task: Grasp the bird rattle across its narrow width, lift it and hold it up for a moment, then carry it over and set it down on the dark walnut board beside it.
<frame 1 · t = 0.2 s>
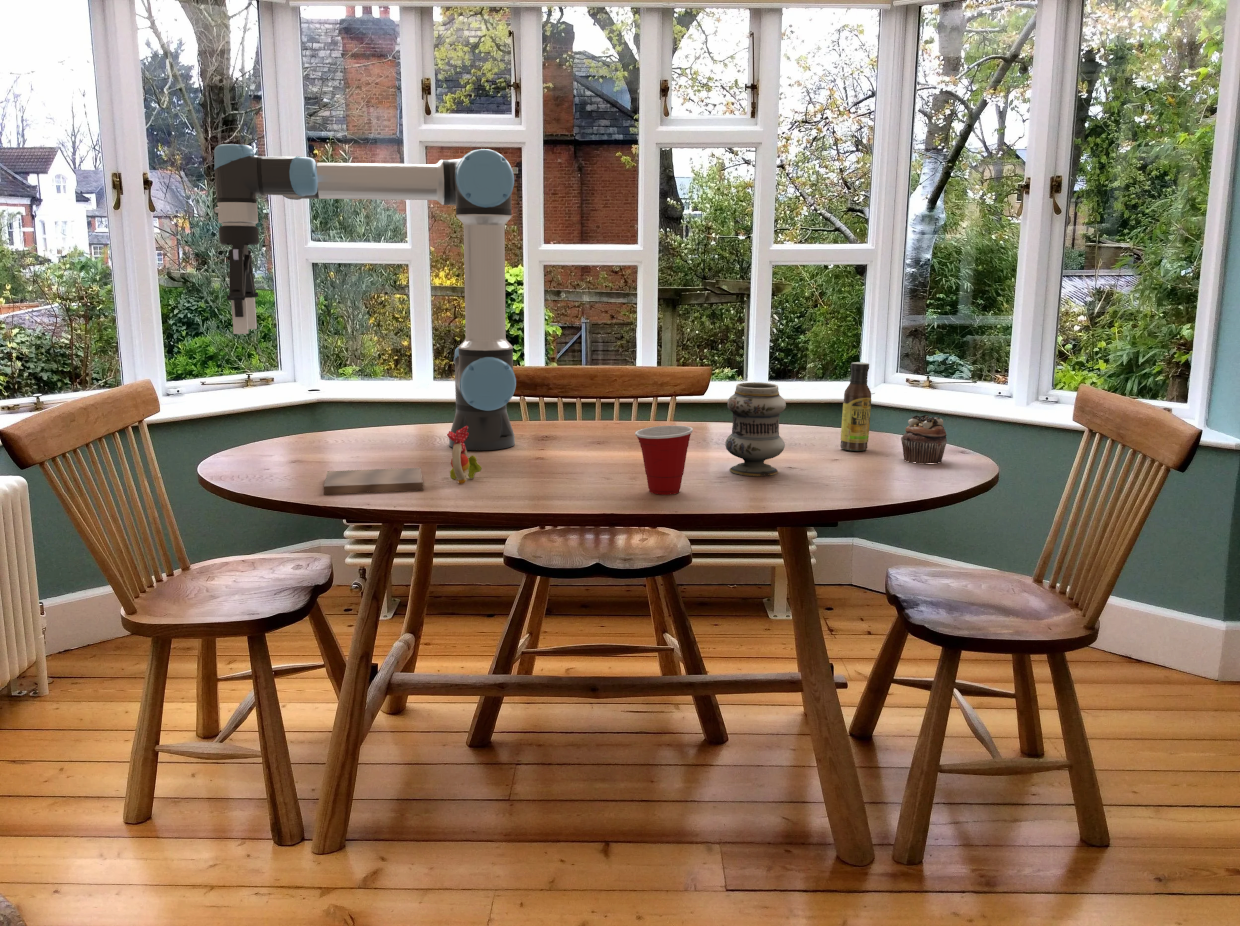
hand: (245, 331, 213), 28 cm above the table, tool pointing down, fingers open, 13 cm apart
sauce bottle: (854, 450, 238), on the table
cupcake: (922, 461, 226), on the table
walnut board: (374, 484, 200), on the table
apothecary jar: (754, 472, 214), on the table
bird rattle: (463, 481, 204), on the table
plastic cup: (663, 492, 195), on the table
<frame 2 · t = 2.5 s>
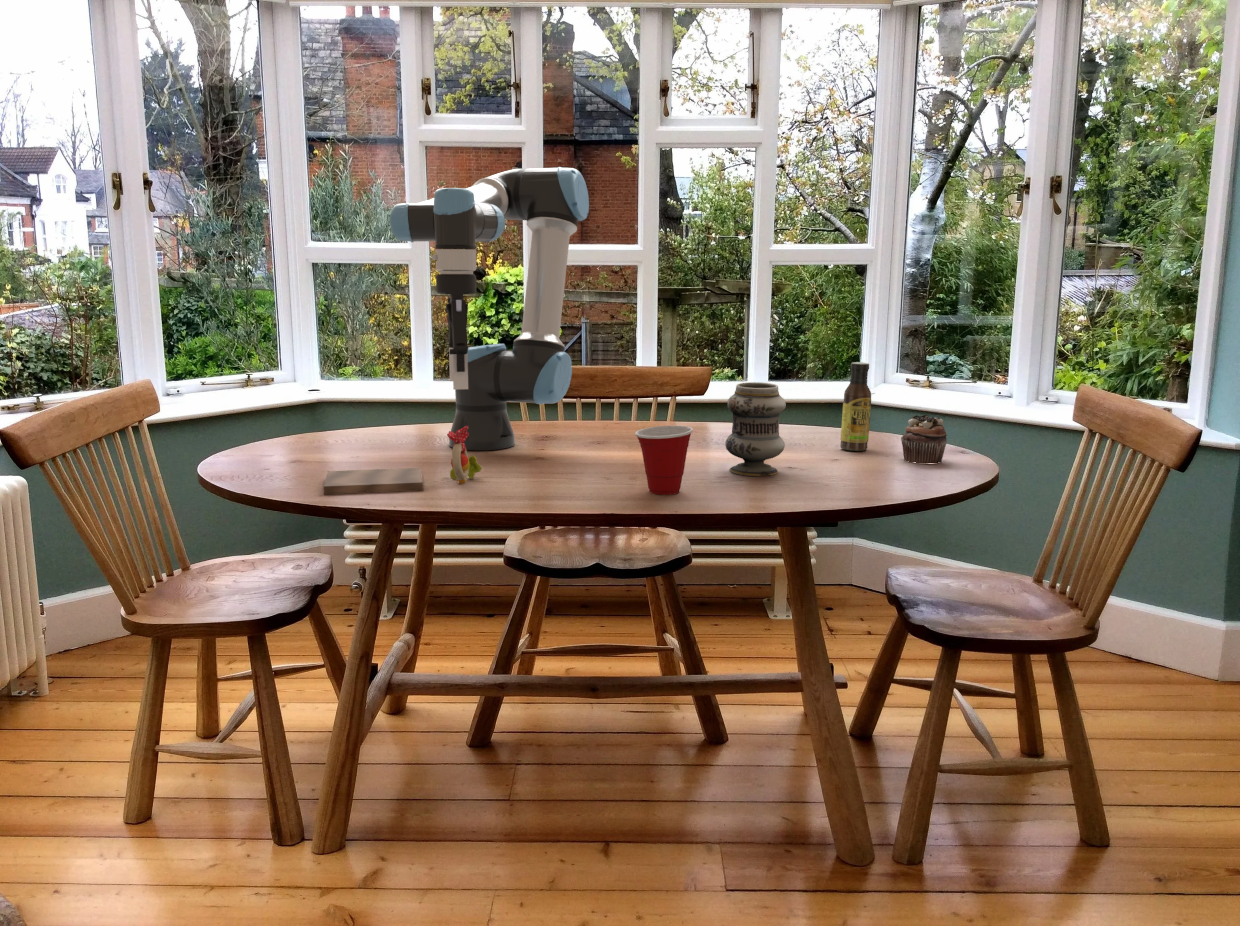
hand: (458, 385, 200), 19 cm above the table, tool pointing down, fingers open, 13 cm apart
nothing on the table moved.
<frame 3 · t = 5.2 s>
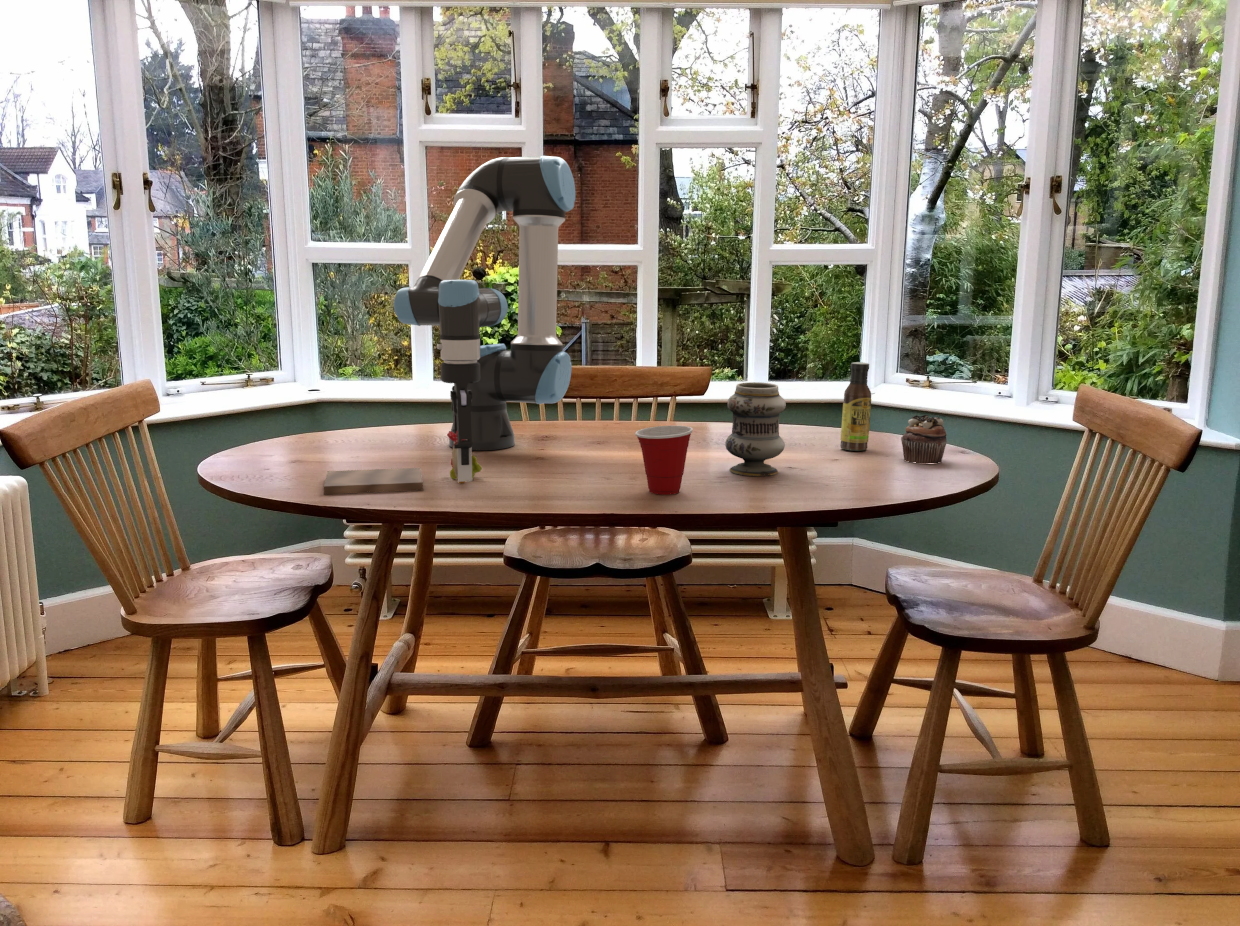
hand: (463, 475, 204), 1 cm above the table, tool pointing down, fingers closed on bird rattle, 9 cm apart
bird rattle: (463, 481, 204), on the table, touching gripper
everything else where it was.
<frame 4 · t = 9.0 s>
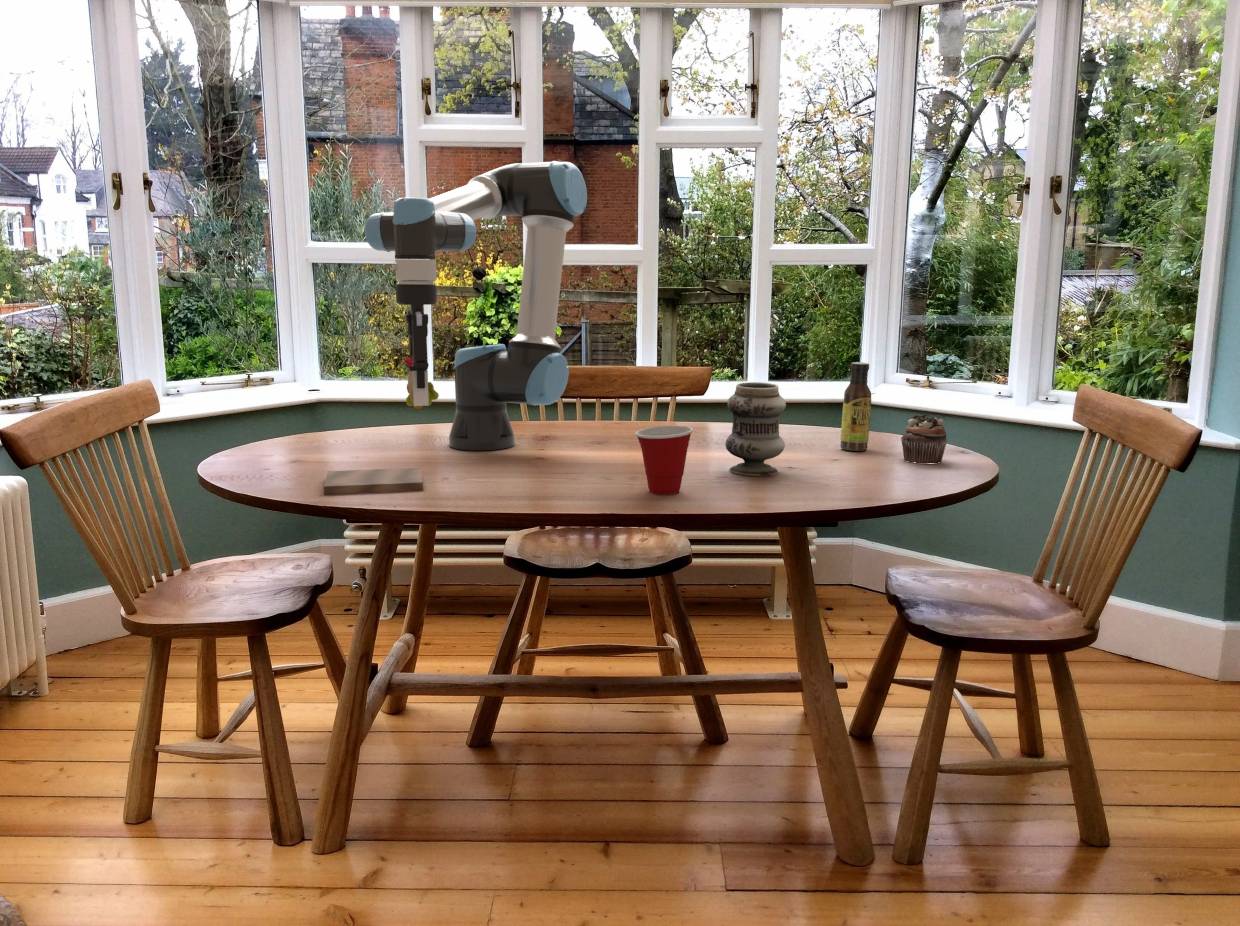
hand: (419, 401, 199), 16 cm above the table, tool pointing down, fingers closed on bird rattle, 9 cm apart
bird rattle: (419, 408, 199), point 15 cm above the table, touching gripper
everything else where it was.
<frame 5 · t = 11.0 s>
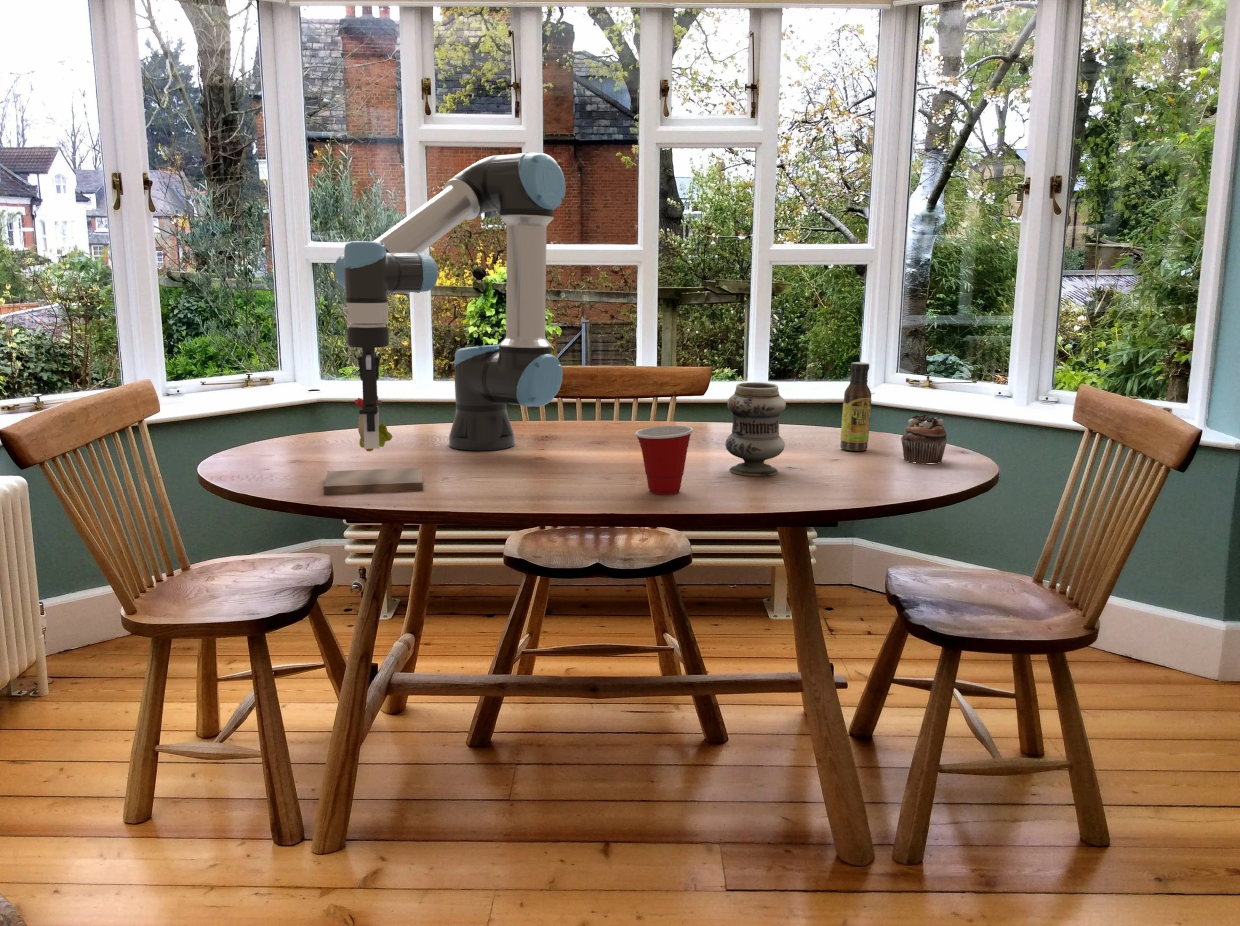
hand: (372, 443, 199), 8 cm above the table, tool pointing down, fingers closed on bird rattle, 9 cm apart
bird rattle: (372, 450, 199), point 7 cm above the table, touching gripper
everything else where it was.
when the fingers open (4 cm above the table, at t = 12.8 s): bird rattle stays where it is, resting on walnut board.
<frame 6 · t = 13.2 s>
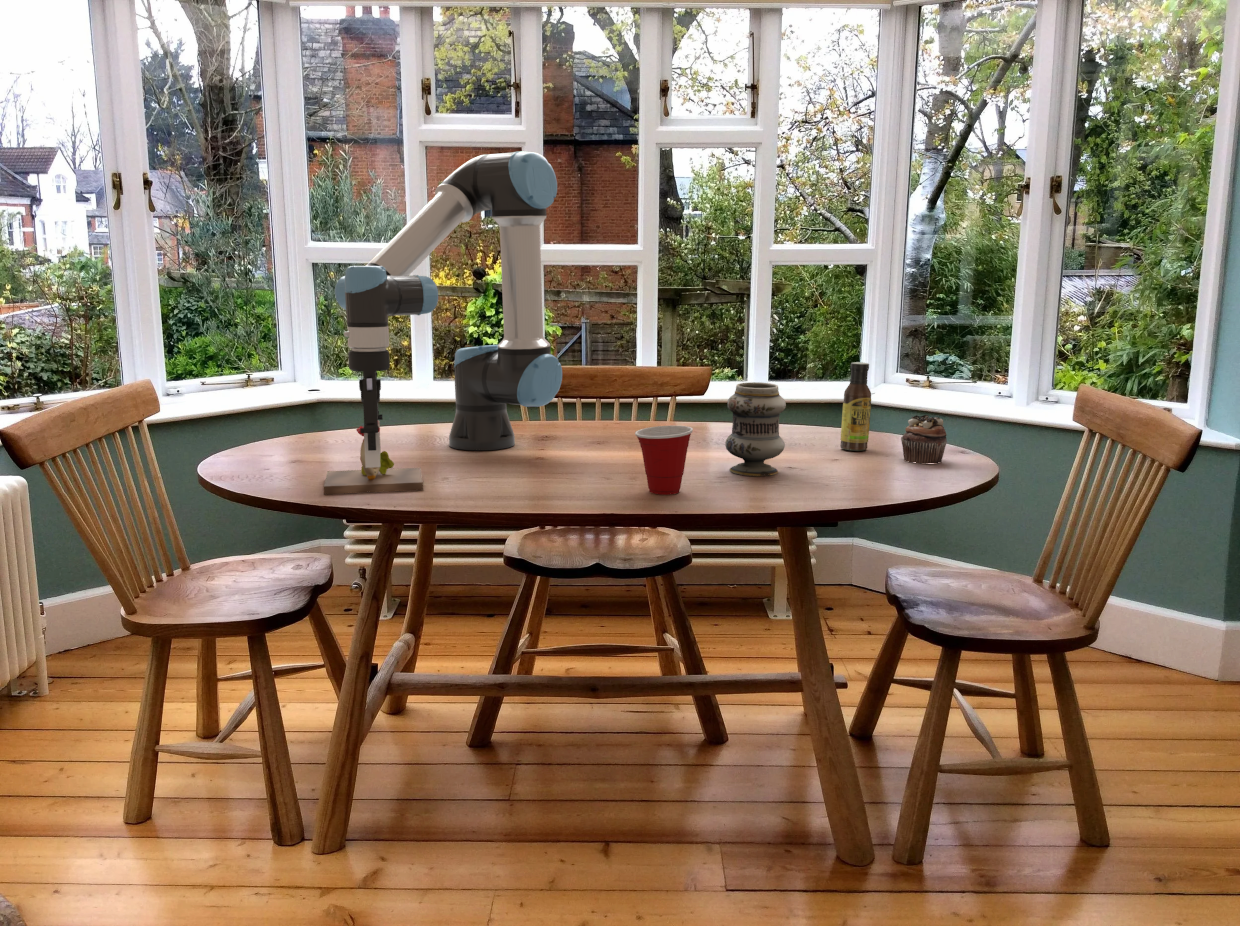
hand: (373, 460, 199), 5 cm above the table, tool pointing down, fingers open, 13 cm apart
bird rattle: (374, 477, 200), point 1 cm above the table, touching walnut board
everything else where it was.
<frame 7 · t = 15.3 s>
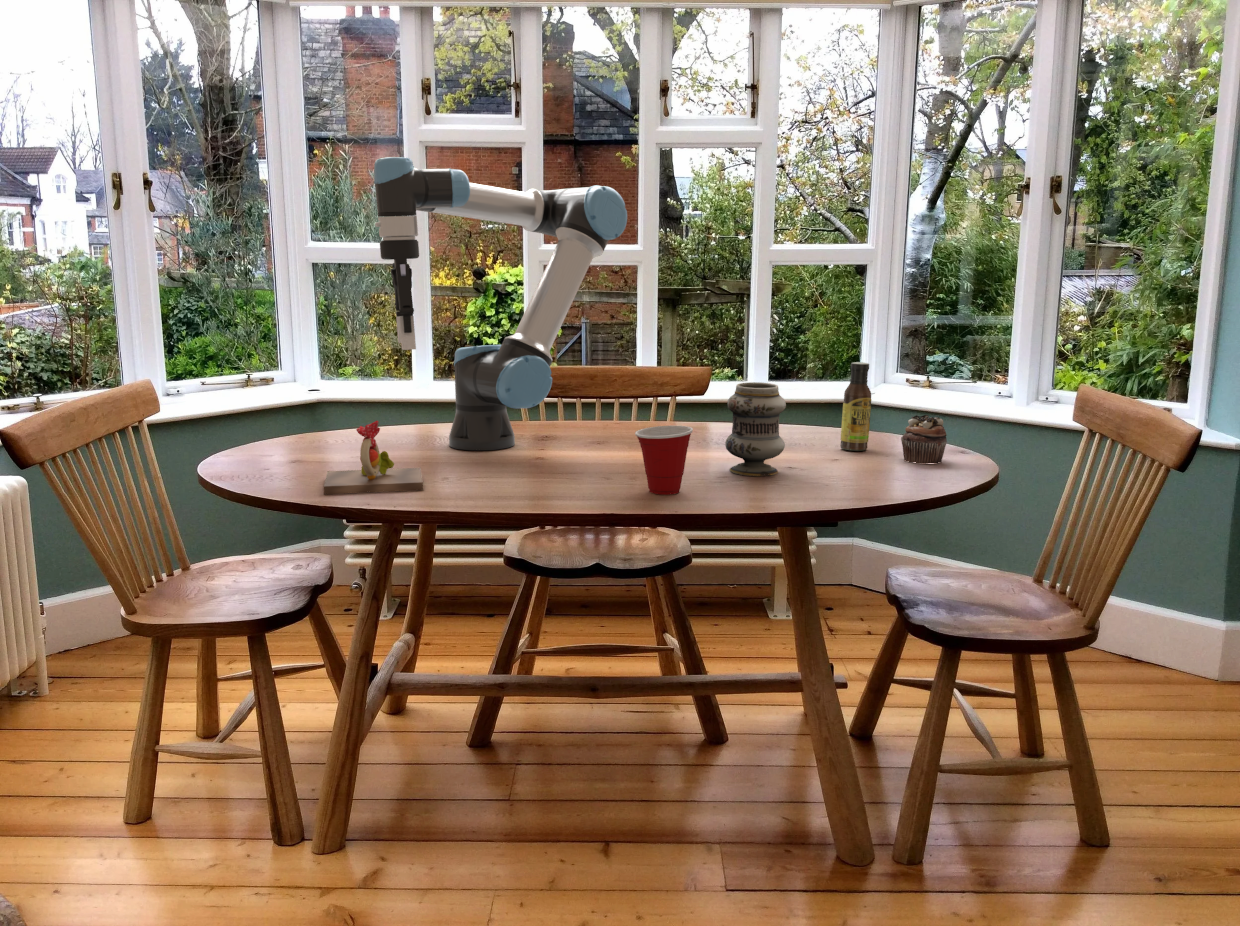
hand: (406, 346, 211), 25 cm above the table, tool pointing down, fingers open, 13 cm apart
nothing on the table moved.
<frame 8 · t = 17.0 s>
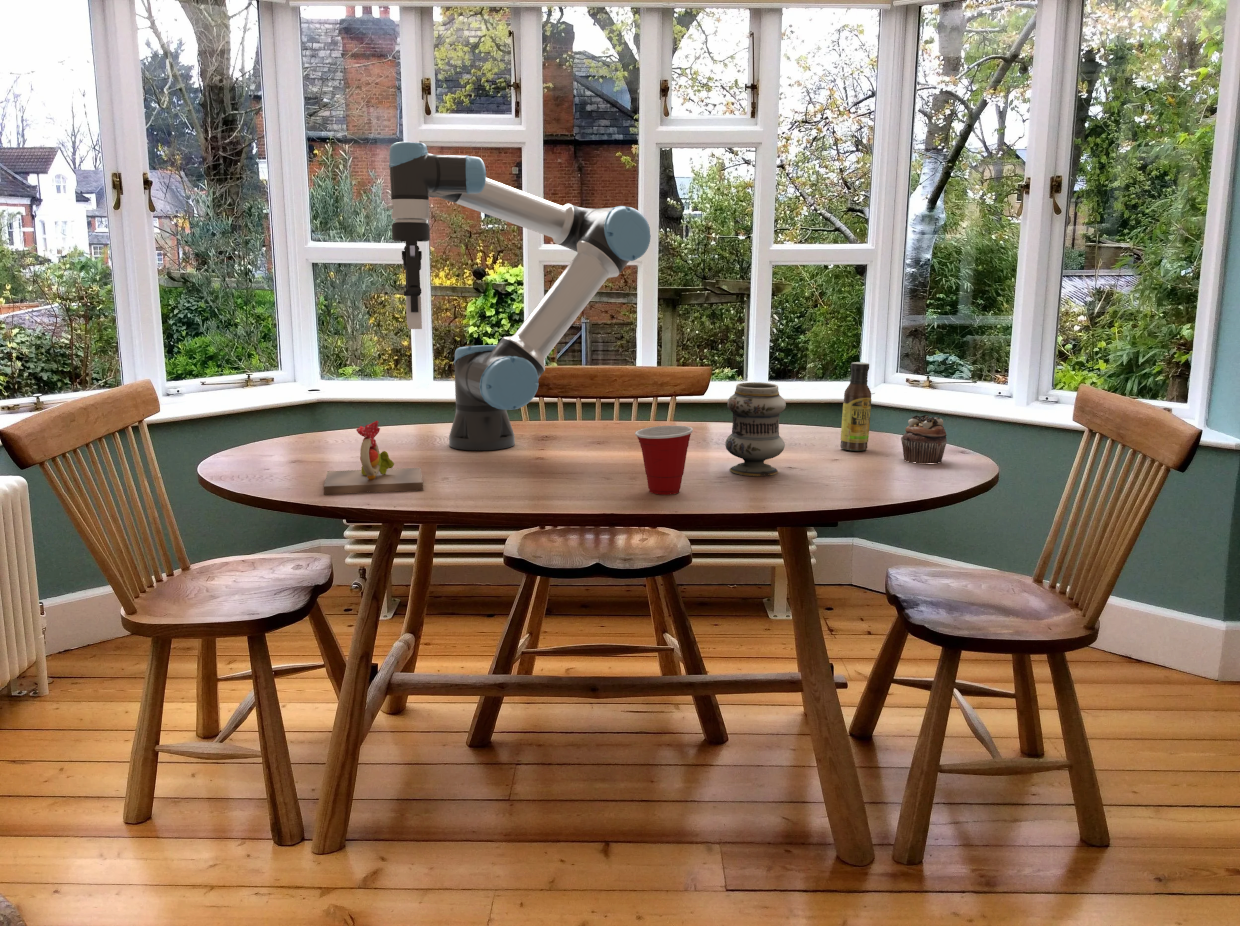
hand: (414, 326, 216), 29 cm above the table, tool pointing down, fingers open, 13 cm apart
nothing on the table moved.
at the end: bird rattle inside the target area on the walnut board (0.2 cm from its centre), point 1.3 cm above the walnut board's base; bird rattle tilted 0°; the gripper is holding nothing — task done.
